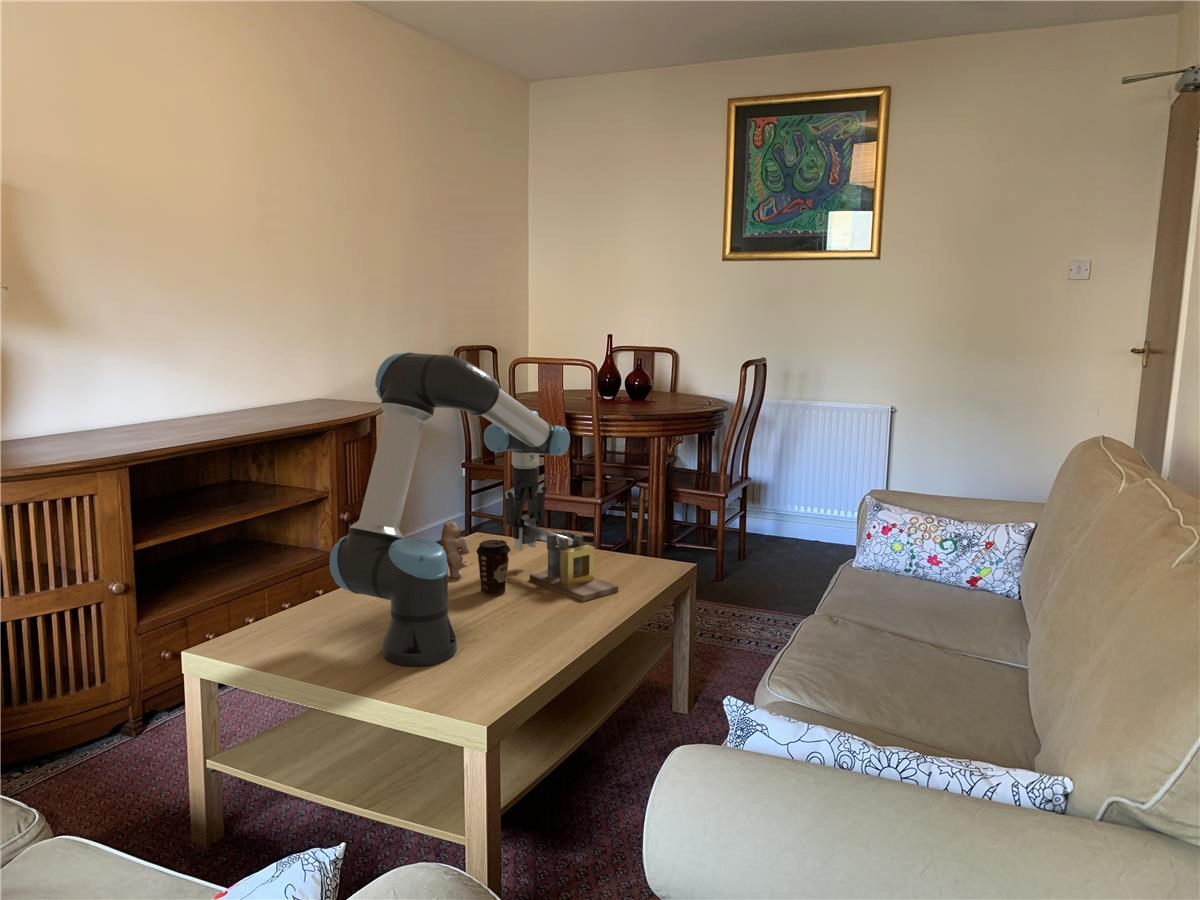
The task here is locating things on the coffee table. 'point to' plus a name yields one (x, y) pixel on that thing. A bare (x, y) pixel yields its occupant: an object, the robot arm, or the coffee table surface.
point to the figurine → (454, 548)
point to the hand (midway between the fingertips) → (525, 547)
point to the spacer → (587, 565)
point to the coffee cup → (493, 566)
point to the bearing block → (578, 591)
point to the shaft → (539, 532)
